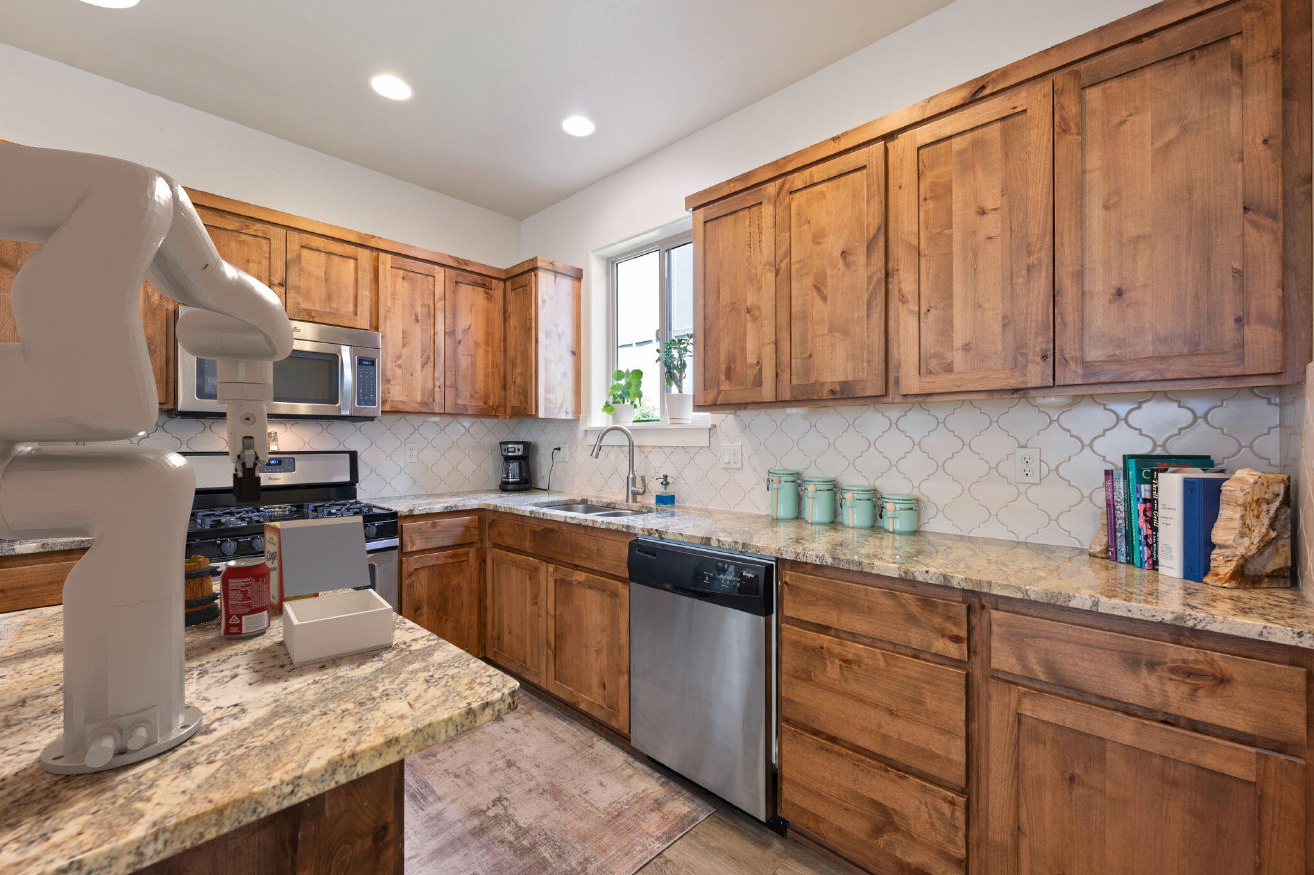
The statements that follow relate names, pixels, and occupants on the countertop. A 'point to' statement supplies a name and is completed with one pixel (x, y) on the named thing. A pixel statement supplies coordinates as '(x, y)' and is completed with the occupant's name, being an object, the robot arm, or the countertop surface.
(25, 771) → the countertop surface
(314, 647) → the white open box
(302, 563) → the lid
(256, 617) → the soda can
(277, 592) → the baking soda box
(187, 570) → the mug
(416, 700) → the countertop surface
